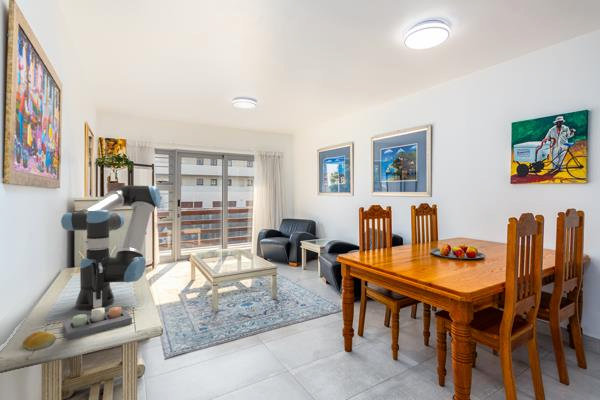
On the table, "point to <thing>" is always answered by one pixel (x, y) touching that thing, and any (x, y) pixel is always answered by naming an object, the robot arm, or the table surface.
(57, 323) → the table surface
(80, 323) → the pale green rounded dome
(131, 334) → the table surface
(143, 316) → the table surface
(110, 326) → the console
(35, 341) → the bread roll
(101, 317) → the cream button
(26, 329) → the table surface
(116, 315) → the brown egg
